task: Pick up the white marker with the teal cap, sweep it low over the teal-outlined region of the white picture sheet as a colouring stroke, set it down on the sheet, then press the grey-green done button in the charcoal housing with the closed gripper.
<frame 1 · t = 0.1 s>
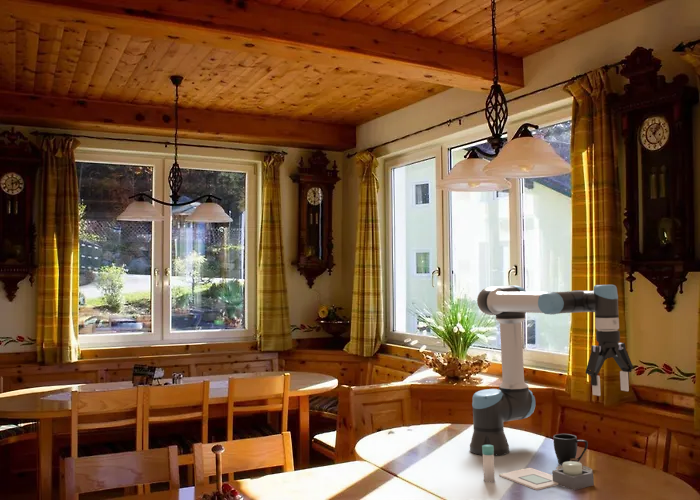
hand: (610, 393, 219), 28 cm above the table, fingers open, 13 cm apart
mug: (571, 464, 235), on the table
marker: (489, 480, 219), on the table
button housing: (573, 484, 212), on the table
done button: (572, 470, 212), point 5 cm above the table, slide at 0.0 cm
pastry: (574, 473, 226), on the table
sheet: (533, 479, 219), on the table
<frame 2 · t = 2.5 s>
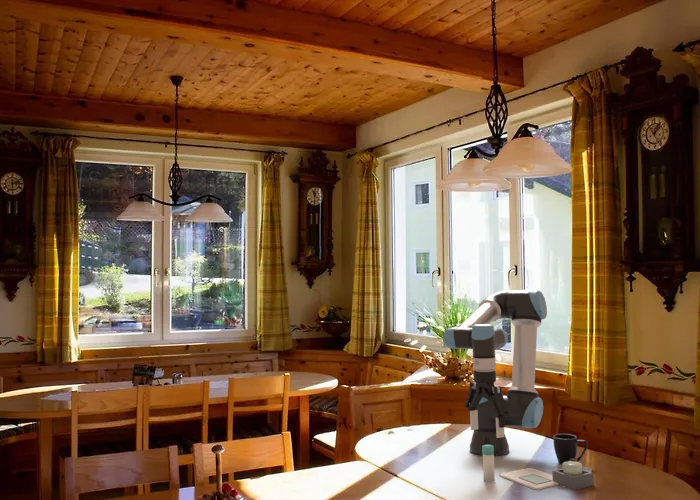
hand: (487, 433, 219), 16 cm above the table, fingers open, 13 cm apart
nothing on the table moved.
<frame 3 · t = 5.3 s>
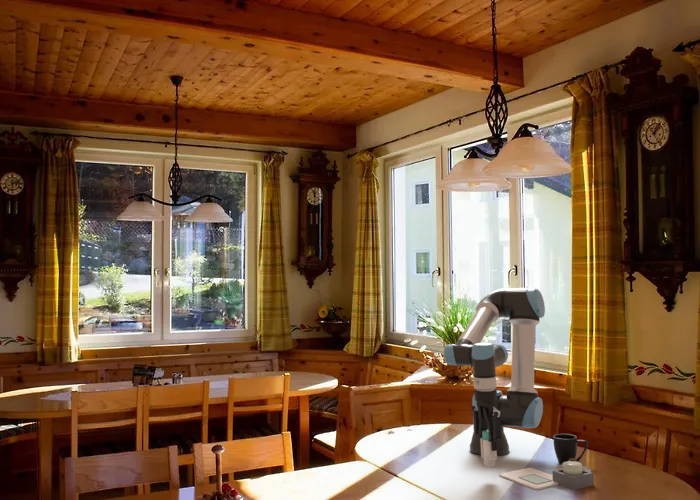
hand: (489, 458, 220), 7 cm above the table, fingers closed on marker, 3 cm apart
marker: (489, 465, 220), point 5 cm above the table, touching gripper
everything else where it was.
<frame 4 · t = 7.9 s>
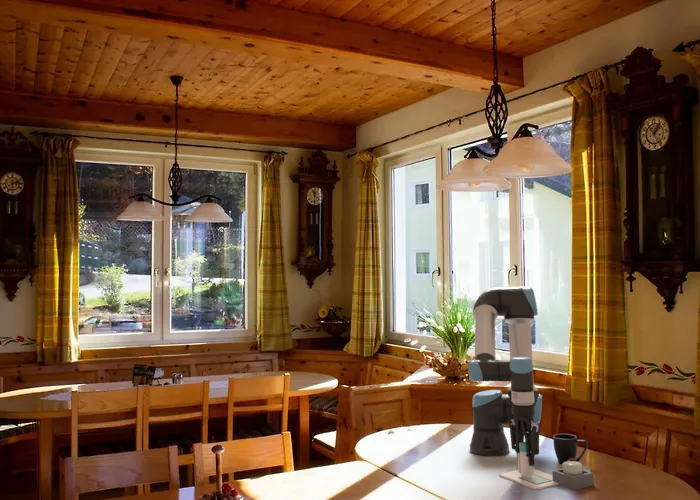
hand: (526, 473, 218), 2 cm above the table, fingers closed on marker, 3 cm apart
marker: (526, 477, 218), point 1 cm above the table, touching gripper, sheet
everything else where it was.
when the fingers open (2 cm above the table, at t = 10.9 s): marker stays where it is, resting on sheet.
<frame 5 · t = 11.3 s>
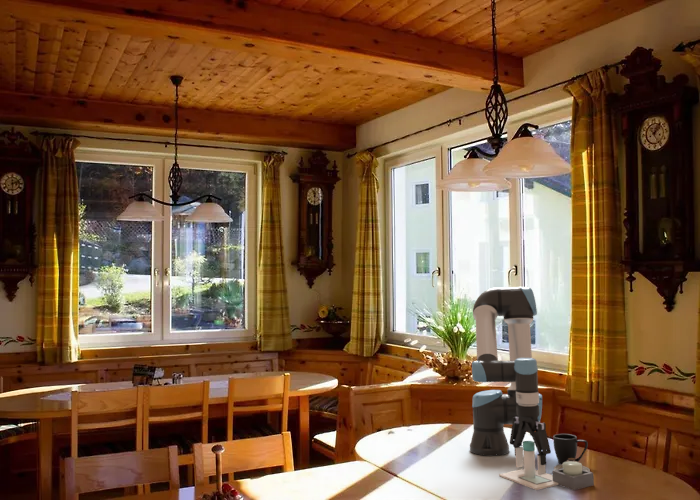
hand: (530, 470, 220), 3 cm above the table, fingers open, 10 cm apart
marker: (530, 476, 219), point 1 cm above the table, touching sheet
everything else where it was.
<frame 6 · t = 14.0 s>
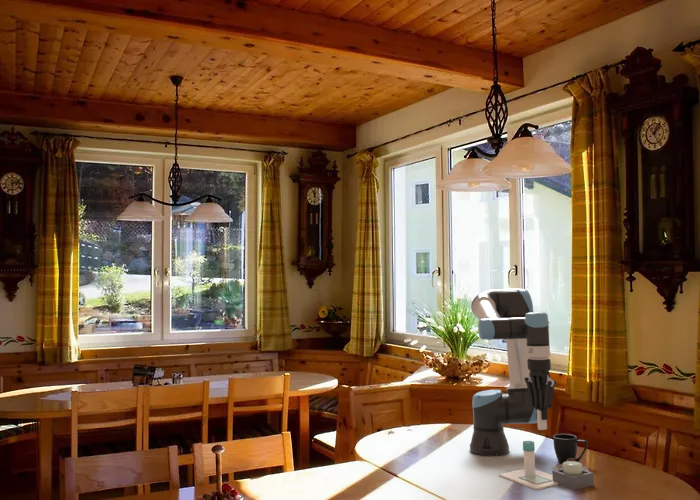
hand: (542, 429, 217), 17 cm above the table, fingers closed
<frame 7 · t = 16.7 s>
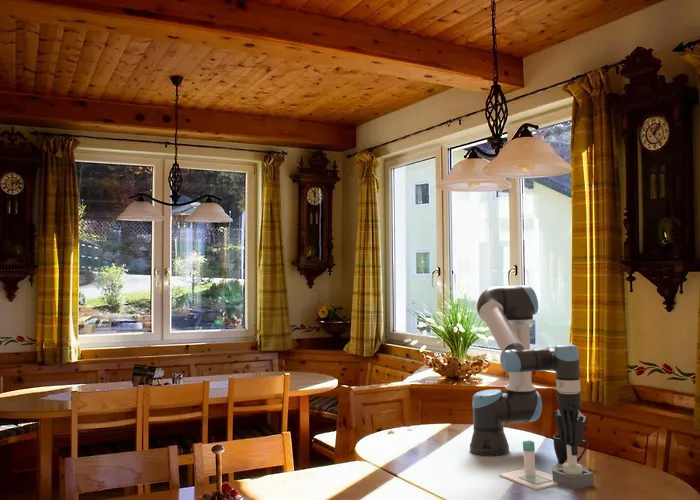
hand: (572, 464, 212), 6 cm above the table, fingers closed
done button: (572, 471, 212), point 4 cm above the table, slide at 0.5 cm, touching gripper
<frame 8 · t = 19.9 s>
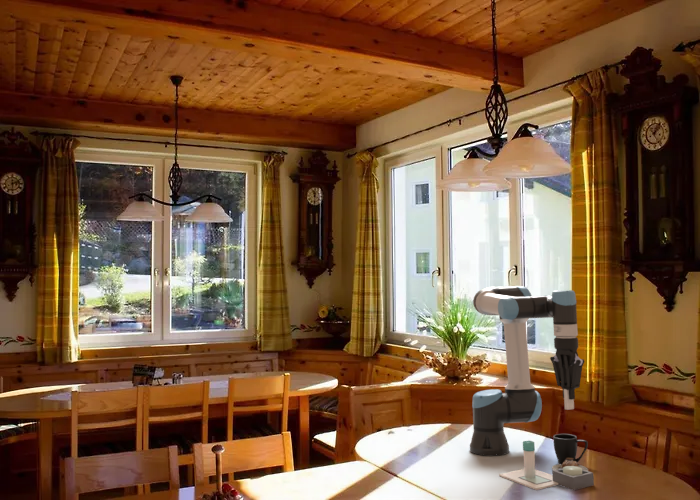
hand: (569, 408, 213), 24 cm above the table, fingers closed
done button: (572, 474, 212), point 3 cm above the table, slide at 1.5 cm
at the end: done button slide at 1.5 cm; marker inside the target area (1.0 cm from its centre), point 0.7 cm above the table; the gripper is holding nothing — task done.
